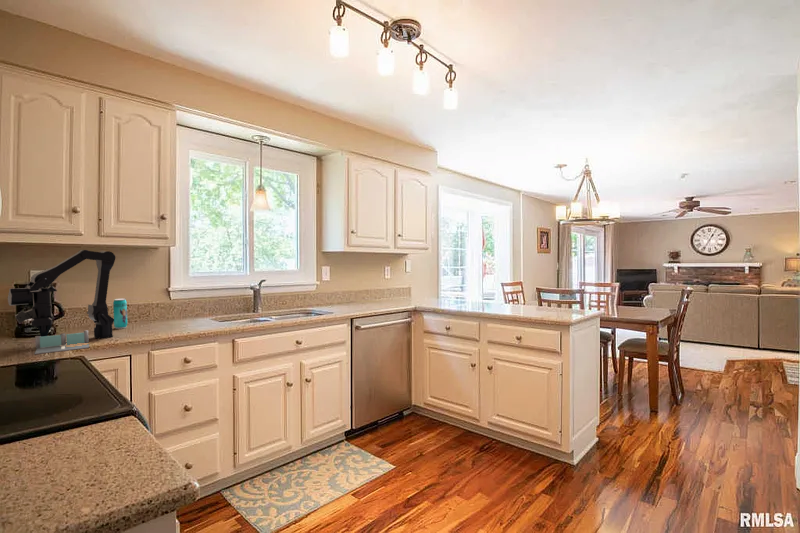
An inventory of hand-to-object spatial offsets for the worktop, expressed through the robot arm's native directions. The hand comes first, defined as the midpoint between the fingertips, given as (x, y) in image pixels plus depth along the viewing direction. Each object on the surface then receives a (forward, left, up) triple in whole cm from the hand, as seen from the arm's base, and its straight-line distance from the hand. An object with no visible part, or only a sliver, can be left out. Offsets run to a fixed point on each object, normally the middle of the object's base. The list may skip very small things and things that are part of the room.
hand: (43, 339), depth 177 cm
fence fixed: (-11, +6, -2) cm, 13 cm away
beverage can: (-29, -28, -3) cm, 40 cm away
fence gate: (-3, +6, -2) cm, 7 cm away
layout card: (-6, +8, -2) cm, 10 cm away
